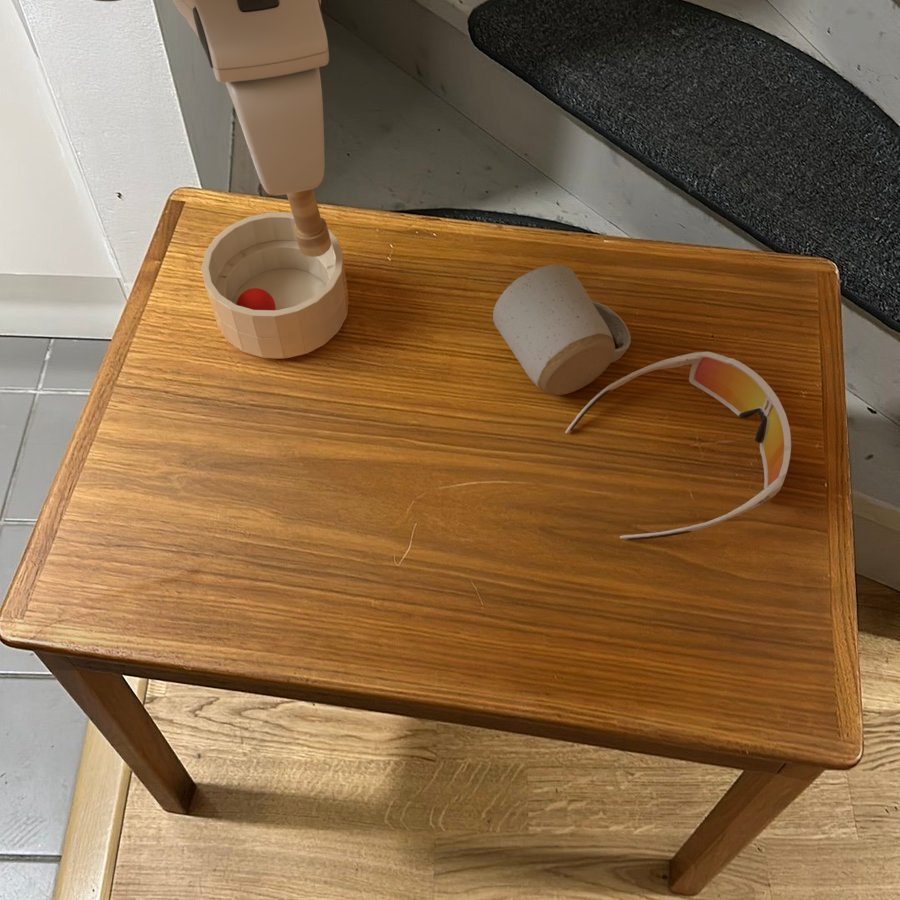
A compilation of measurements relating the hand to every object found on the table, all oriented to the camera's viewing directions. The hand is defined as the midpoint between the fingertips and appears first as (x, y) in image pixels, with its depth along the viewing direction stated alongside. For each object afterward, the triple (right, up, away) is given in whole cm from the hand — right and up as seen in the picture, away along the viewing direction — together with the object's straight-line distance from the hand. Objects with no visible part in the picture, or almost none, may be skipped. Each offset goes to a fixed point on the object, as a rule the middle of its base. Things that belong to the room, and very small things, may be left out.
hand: (276, 154), depth 65 cm
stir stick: (+2, -5, +8) cm, 10 cm away
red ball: (-4, -9, +11) cm, 15 cm away
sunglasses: (+30, -22, +7) cm, 38 cm away
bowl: (-2, -9, +14) cm, 16 cm away
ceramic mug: (+22, -13, +12) cm, 28 cm away
